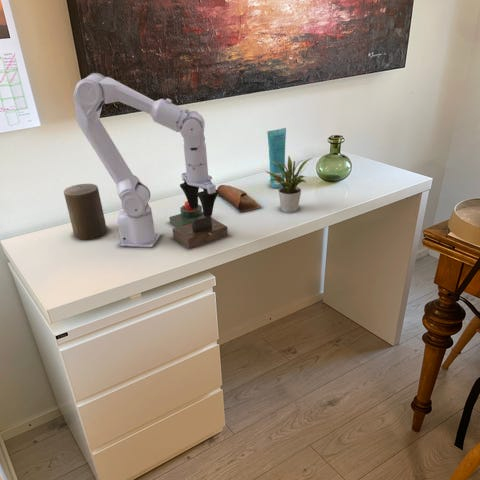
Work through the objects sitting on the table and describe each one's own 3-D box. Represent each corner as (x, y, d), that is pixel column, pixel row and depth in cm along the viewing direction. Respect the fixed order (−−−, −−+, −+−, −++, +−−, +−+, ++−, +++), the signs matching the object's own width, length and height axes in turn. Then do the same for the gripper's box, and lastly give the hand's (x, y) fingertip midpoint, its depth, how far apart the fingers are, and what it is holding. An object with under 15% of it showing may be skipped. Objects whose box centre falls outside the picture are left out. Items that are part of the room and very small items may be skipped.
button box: (182, 231, 148) (181, 218, 146) (168, 222, 154) (167, 210, 152) (211, 222, 152) (210, 210, 150) (196, 214, 158) (195, 202, 156)
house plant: (295, 196, 167) (296, 146, 158) (323, 208, 157) (325, 156, 148) (260, 206, 161) (259, 155, 152) (287, 220, 151) (287, 166, 142)
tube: (280, 181, 180) (280, 126, 169) (289, 185, 177) (290, 128, 166) (264, 186, 176) (263, 130, 165) (273, 190, 173) (273, 132, 162)
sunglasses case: (262, 206, 160) (252, 190, 155) (246, 220, 160) (235, 205, 155) (238, 189, 173) (228, 175, 169) (223, 203, 173) (212, 188, 169)
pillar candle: (99, 240, 145) (88, 190, 136) (68, 239, 147) (55, 190, 138) (112, 227, 153) (102, 178, 144) (82, 226, 154) (71, 178, 146)
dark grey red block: (195, 232, 139) (194, 220, 137) (192, 230, 140) (191, 218, 138) (212, 227, 142) (211, 215, 140) (209, 225, 143) (208, 213, 141)
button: (188, 212, 150) (188, 205, 149) (183, 208, 153) (182, 202, 152) (199, 209, 152) (198, 202, 151) (193, 205, 155) (192, 199, 153)
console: (192, 251, 137) (191, 240, 135) (173, 238, 144) (172, 228, 142) (231, 238, 142) (231, 227, 141) (211, 226, 150) (210, 216, 148)
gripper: (224, 165, 127) (227, 215, 135) (195, 153, 137) (199, 200, 145) (200, 171, 124) (205, 222, 132) (172, 159, 134) (178, 207, 142)
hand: (200, 211), depth 138 cm, fingers open, 7 cm apart
